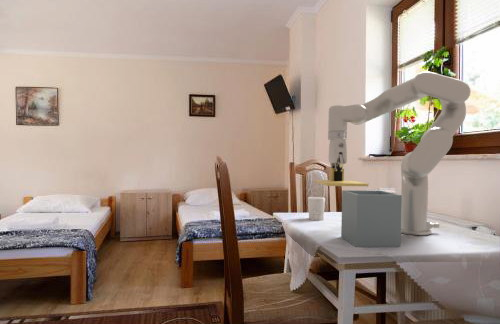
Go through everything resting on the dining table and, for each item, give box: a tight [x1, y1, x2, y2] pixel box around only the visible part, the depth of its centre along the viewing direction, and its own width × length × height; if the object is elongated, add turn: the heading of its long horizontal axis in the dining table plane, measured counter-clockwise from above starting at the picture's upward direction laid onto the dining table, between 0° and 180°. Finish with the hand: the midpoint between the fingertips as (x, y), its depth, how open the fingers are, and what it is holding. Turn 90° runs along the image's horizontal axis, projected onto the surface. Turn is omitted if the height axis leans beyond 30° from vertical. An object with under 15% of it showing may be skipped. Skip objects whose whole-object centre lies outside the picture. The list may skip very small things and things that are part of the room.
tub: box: [340, 189, 402, 248], centre depth 131 cm, size 15×15×17 cm
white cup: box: [307, 196, 326, 221], centre depth 175 cm, size 8×8×10 cm
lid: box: [315, 167, 369, 187], centre depth 149 cm, size 16×16×6 cm
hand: (336, 180), depth 155 cm, fingers closed on lid, 4 cm apart
